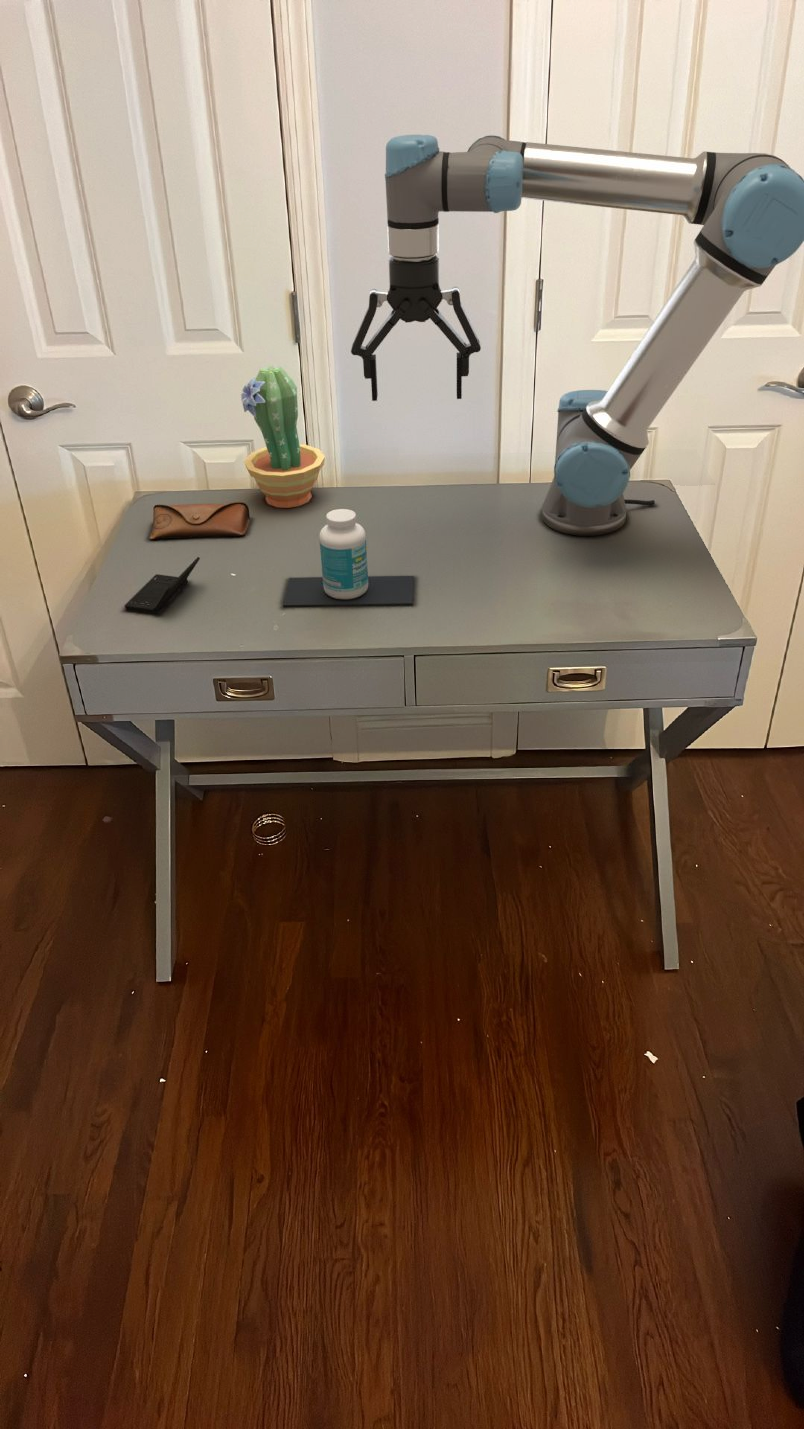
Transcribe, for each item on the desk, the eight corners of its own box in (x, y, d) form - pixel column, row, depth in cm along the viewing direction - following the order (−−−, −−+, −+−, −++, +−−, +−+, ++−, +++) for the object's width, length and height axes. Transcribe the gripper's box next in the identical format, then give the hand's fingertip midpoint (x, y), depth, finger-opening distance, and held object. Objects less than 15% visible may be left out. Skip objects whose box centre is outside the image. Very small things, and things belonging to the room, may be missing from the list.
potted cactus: (251, 483, 200) (235, 357, 185) (328, 479, 201) (317, 353, 186) (246, 517, 188) (228, 385, 173) (328, 512, 188) (317, 381, 173)
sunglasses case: (147, 539, 181) (144, 502, 180) (156, 542, 188) (153, 506, 187) (246, 535, 181) (244, 498, 180) (251, 538, 188) (249, 502, 187)
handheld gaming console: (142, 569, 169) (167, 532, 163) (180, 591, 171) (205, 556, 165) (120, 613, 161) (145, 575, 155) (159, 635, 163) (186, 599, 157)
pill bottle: (363, 603, 161) (358, 527, 152) (318, 599, 162) (311, 524, 154) (373, 580, 166) (369, 506, 158) (330, 577, 168) (324, 503, 160)
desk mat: (413, 577, 168) (413, 575, 167) (412, 605, 160) (412, 603, 160) (289, 579, 168) (289, 577, 168) (283, 607, 161) (283, 605, 161)
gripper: (496, 247, 150) (493, 387, 163) (332, 252, 151) (341, 390, 164) (499, 259, 144) (495, 403, 157) (328, 264, 145) (338, 406, 158)
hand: (416, 397), depth 161 cm, fingers open, 13 cm apart
